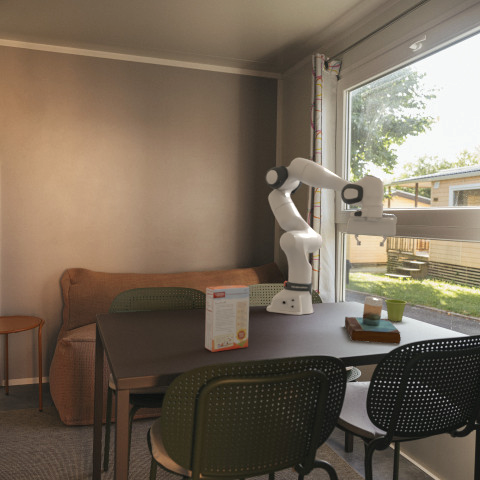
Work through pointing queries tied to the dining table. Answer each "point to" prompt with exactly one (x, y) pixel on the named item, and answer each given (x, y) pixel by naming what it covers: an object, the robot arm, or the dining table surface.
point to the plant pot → (395, 309)
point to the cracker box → (227, 317)
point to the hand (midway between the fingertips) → (370, 245)
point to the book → (372, 331)
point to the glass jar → (372, 311)
